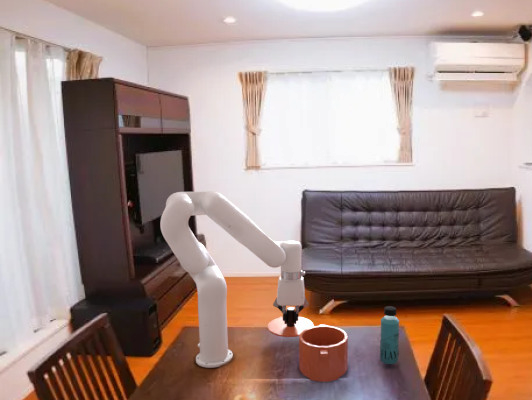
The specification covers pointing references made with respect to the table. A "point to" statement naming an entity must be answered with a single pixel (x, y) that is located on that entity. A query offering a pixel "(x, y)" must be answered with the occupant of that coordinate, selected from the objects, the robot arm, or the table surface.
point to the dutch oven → (323, 353)
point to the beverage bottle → (389, 336)
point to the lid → (289, 325)
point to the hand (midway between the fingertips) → (290, 322)
